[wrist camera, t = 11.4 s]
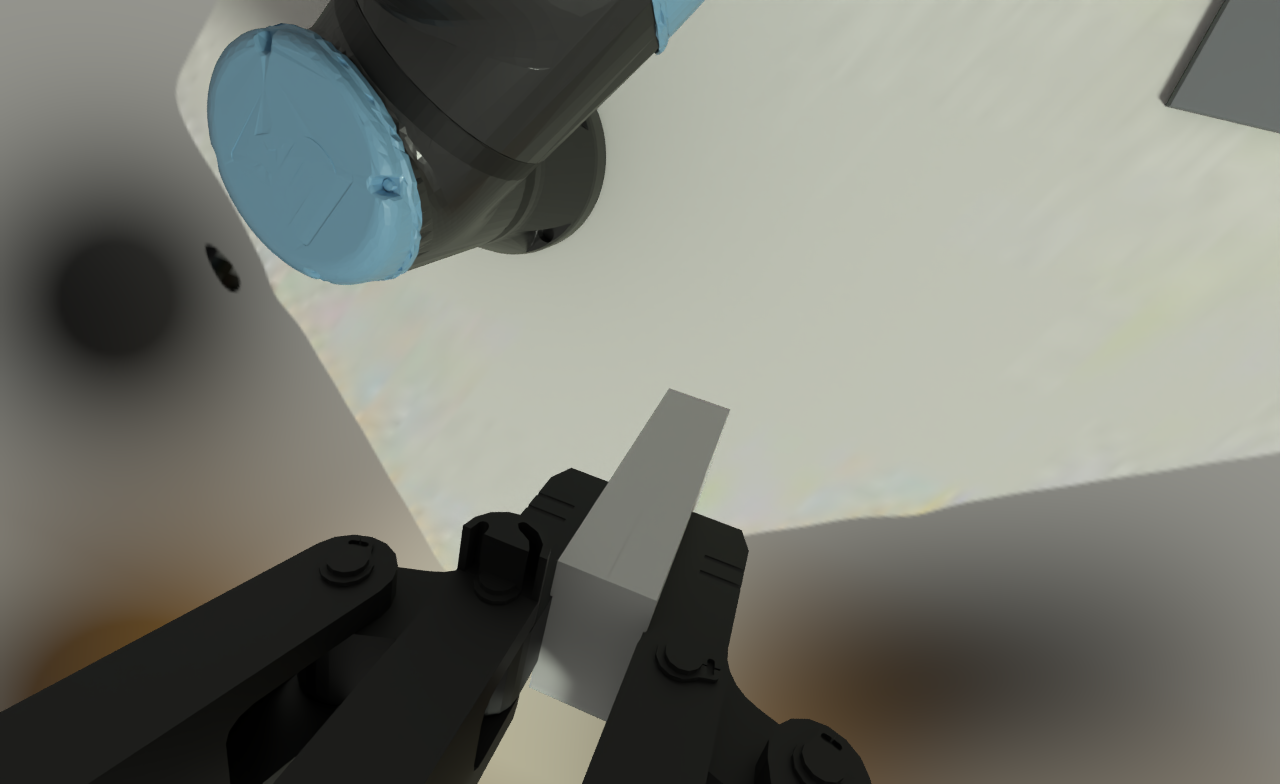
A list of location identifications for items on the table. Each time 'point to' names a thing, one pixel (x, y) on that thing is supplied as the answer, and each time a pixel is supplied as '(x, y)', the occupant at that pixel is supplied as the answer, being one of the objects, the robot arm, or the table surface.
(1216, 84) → the mat
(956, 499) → the table surface
